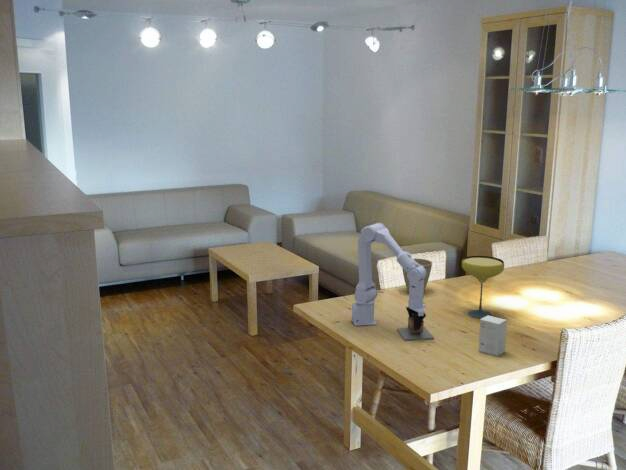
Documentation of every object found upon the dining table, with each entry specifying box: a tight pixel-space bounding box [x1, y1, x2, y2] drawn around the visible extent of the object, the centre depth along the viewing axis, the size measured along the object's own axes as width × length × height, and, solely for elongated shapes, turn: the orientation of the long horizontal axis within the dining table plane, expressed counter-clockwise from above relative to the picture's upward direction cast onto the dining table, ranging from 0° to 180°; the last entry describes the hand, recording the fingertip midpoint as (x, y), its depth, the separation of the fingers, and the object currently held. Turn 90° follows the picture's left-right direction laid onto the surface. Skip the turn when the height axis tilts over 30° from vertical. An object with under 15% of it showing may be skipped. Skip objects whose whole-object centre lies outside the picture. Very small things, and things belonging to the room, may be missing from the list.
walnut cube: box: [407, 316, 425, 333], centre depth 255 cm, size 5×5×5 cm
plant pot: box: [401, 258, 433, 294], centre depth 309 cm, size 15×15×16 cm
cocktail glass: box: [461, 255, 505, 320], centre depth 277 cm, size 18×18×25 cm
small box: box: [478, 315, 507, 357], centre depth 238 cm, size 8×6×13 cm
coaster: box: [396, 326, 435, 342], centre depth 256 cm, size 12×12×1 cm
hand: (415, 326), depth 256 cm, fingers closed on walnut cube, 5 cm apart
